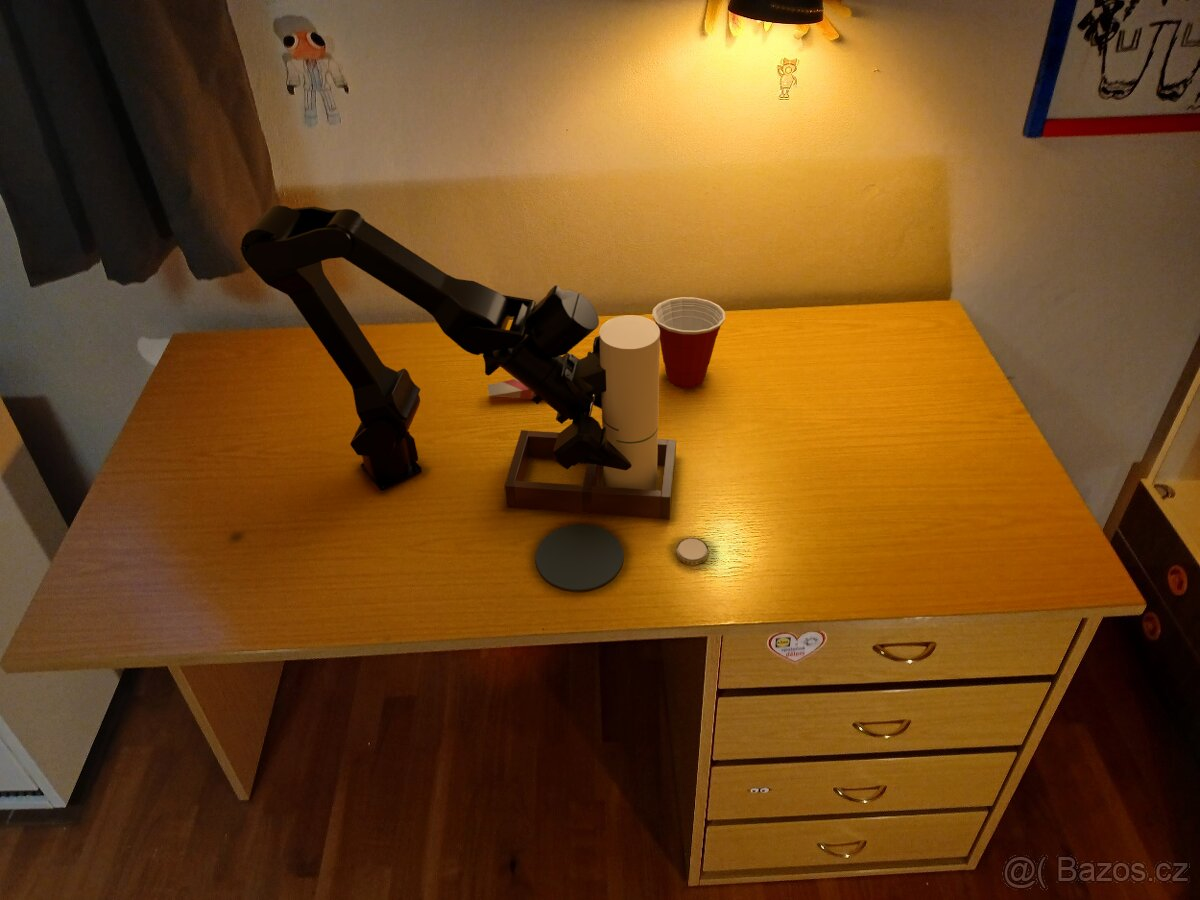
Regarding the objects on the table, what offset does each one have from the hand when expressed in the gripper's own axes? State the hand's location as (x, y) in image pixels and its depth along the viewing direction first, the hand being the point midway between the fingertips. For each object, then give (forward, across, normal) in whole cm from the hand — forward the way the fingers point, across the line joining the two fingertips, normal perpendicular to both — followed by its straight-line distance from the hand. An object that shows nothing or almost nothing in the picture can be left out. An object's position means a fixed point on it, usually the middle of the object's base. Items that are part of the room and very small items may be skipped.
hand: (632, 444), depth 118 cm
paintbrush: (-4, +20, +15) cm, 25 cm away
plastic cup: (+10, +25, +2) cm, 27 cm away
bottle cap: (+12, -11, -1) cm, 16 cm away
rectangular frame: (+2, 0, +9) cm, 9 cm away
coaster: (+2, -14, +9) cm, 16 cm away
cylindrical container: (+5, 0, +6) cm, 8 cm away
